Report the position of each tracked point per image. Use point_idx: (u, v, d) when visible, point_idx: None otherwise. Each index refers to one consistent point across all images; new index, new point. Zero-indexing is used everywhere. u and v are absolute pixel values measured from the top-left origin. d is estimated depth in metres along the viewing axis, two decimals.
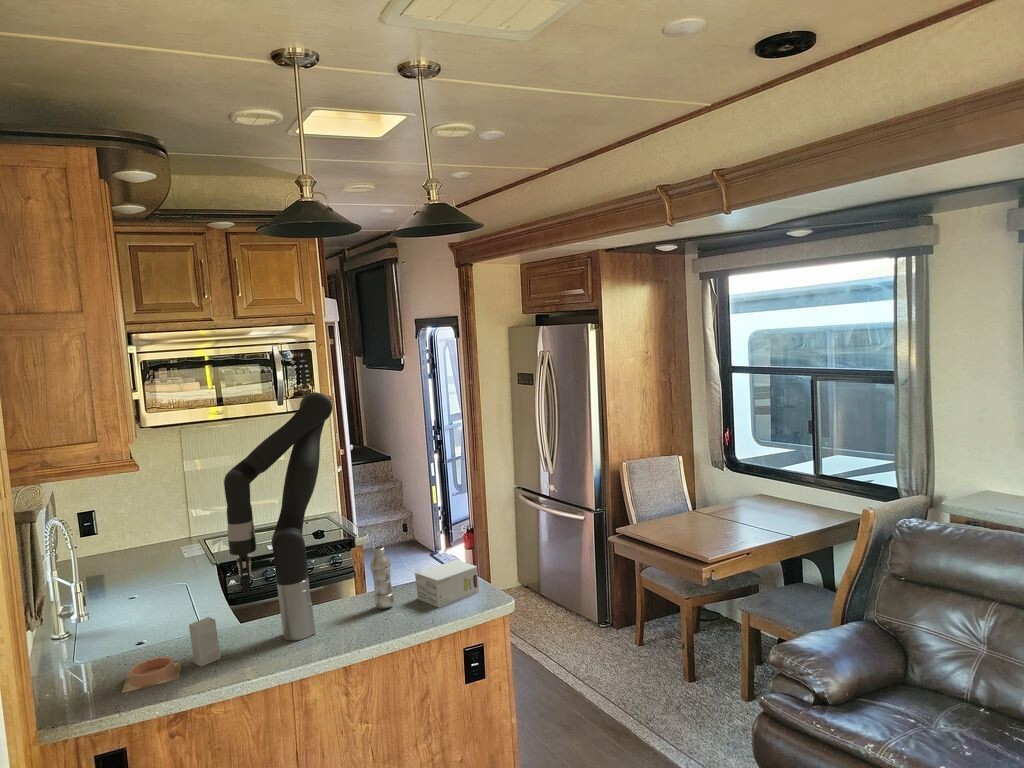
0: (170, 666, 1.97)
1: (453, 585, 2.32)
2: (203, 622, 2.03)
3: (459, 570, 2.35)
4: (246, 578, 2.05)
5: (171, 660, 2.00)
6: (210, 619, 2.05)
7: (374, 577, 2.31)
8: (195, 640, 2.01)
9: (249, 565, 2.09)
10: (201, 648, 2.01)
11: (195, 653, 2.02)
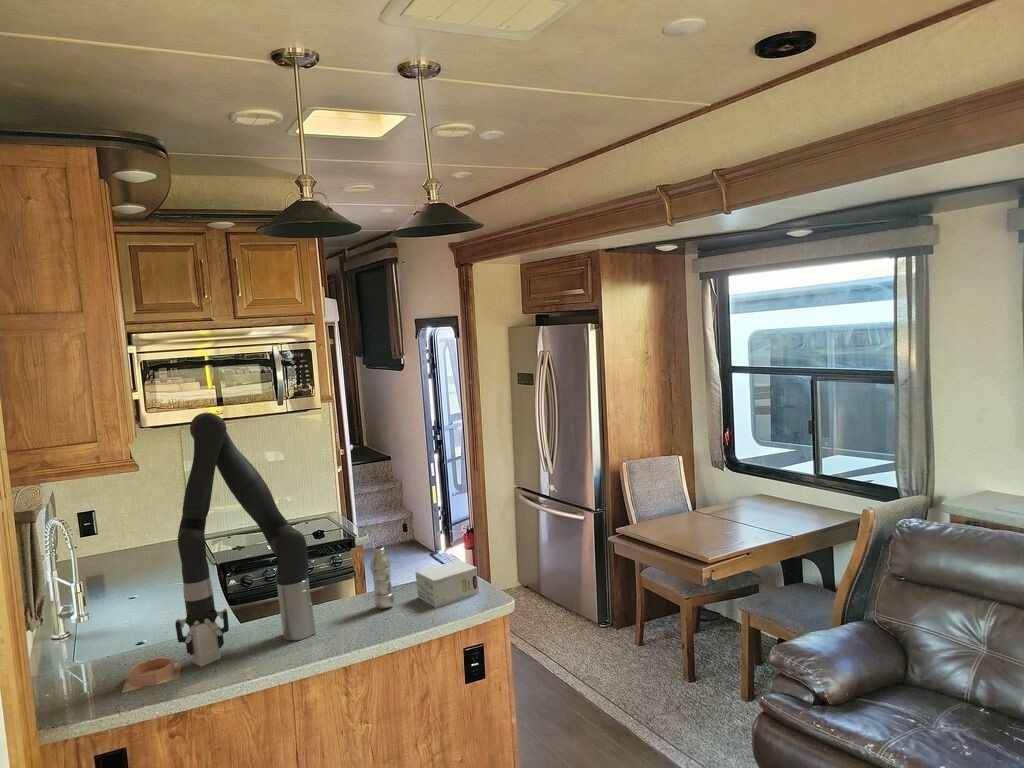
0: (170, 666, 1.97)
1: (451, 585, 2.32)
2: None
3: (458, 571, 2.35)
4: (227, 626, 2.06)
5: (171, 660, 2.00)
6: None
7: (374, 577, 2.31)
8: (195, 640, 2.01)
9: None
10: (201, 647, 2.01)
11: (195, 653, 2.02)
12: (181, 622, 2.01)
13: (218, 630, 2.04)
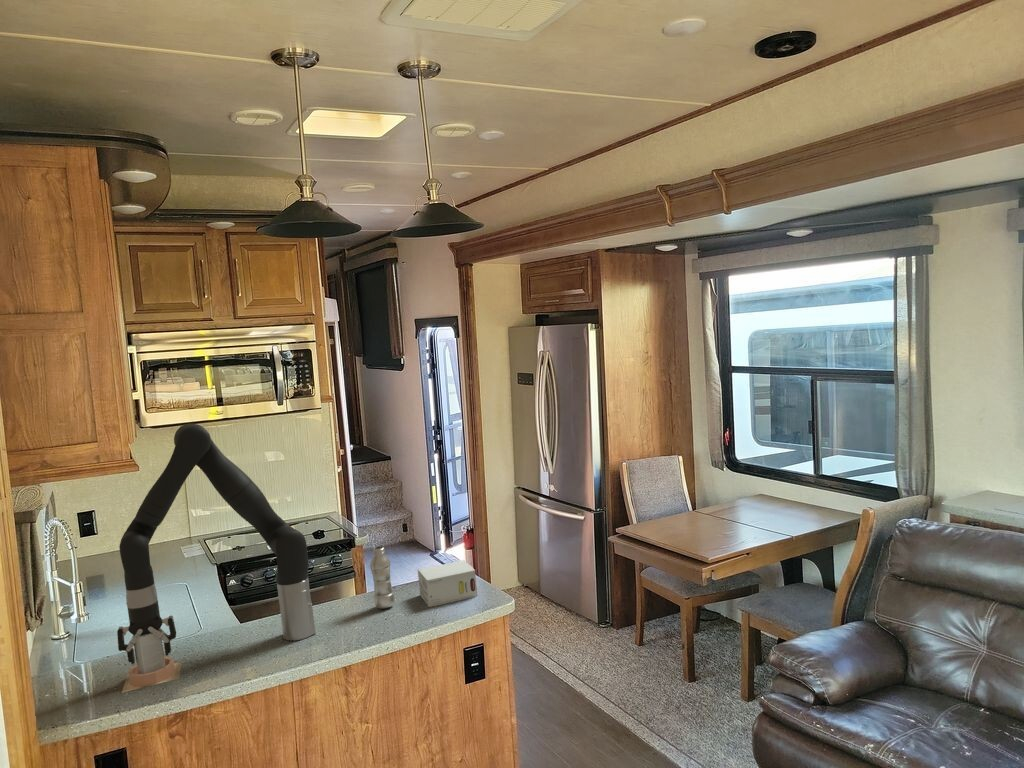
0: (170, 666, 1.97)
1: (446, 586, 2.31)
2: None
3: (456, 572, 2.34)
4: (175, 633, 1.99)
5: (171, 660, 2.00)
6: None
7: (374, 577, 2.31)
8: (138, 652, 1.94)
9: None
10: (145, 660, 1.94)
11: (139, 665, 1.95)
12: (124, 629, 1.94)
13: (164, 637, 1.97)
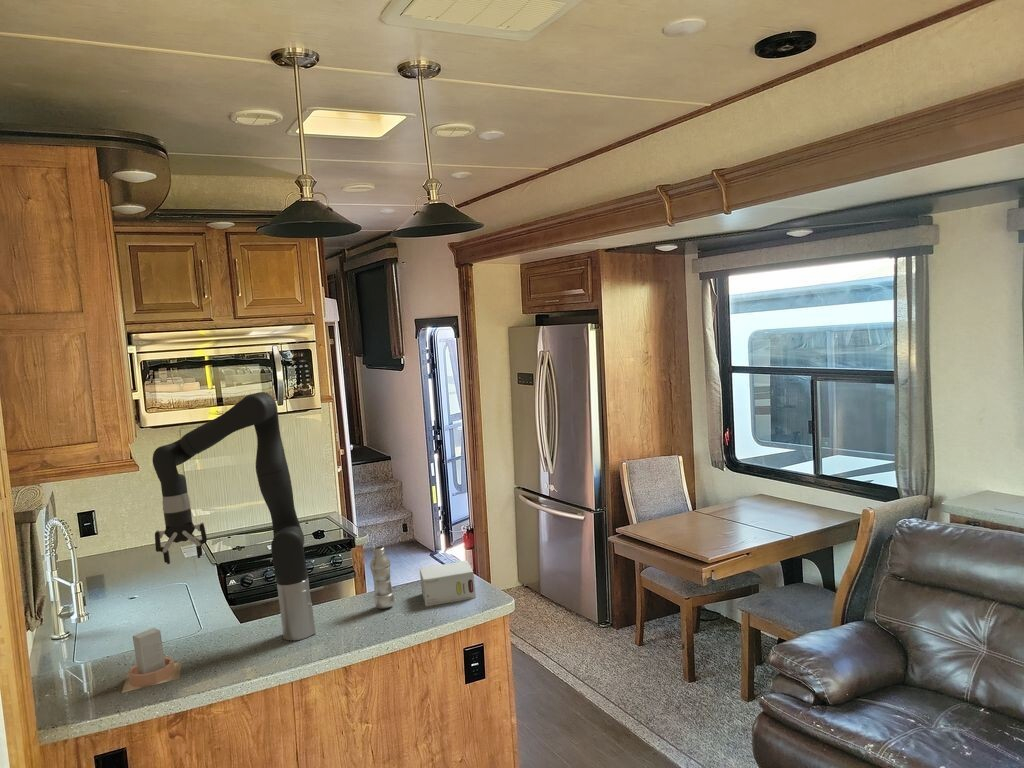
0: (170, 666, 1.97)
1: (443, 586, 2.31)
2: (147, 633, 1.96)
3: (454, 573, 2.33)
4: (206, 538, 2.20)
5: (171, 660, 2.00)
6: (155, 630, 1.98)
7: (374, 577, 2.31)
8: (138, 652, 1.94)
9: None
10: (145, 660, 1.94)
11: (139, 665, 1.95)
12: (160, 533, 2.15)
13: (196, 541, 2.18)
